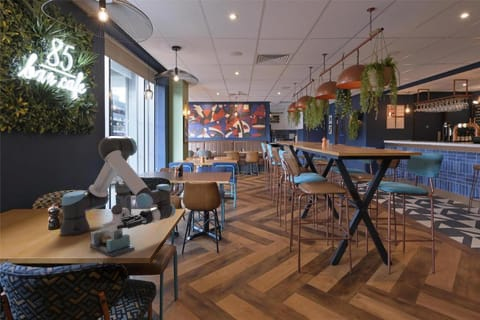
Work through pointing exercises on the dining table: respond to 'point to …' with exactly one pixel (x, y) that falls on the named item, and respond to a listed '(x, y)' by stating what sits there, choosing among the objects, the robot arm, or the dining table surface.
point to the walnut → (106, 238)
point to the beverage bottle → (123, 196)
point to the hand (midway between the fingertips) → (106, 227)
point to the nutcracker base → (102, 247)
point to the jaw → (117, 231)
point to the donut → (125, 212)
